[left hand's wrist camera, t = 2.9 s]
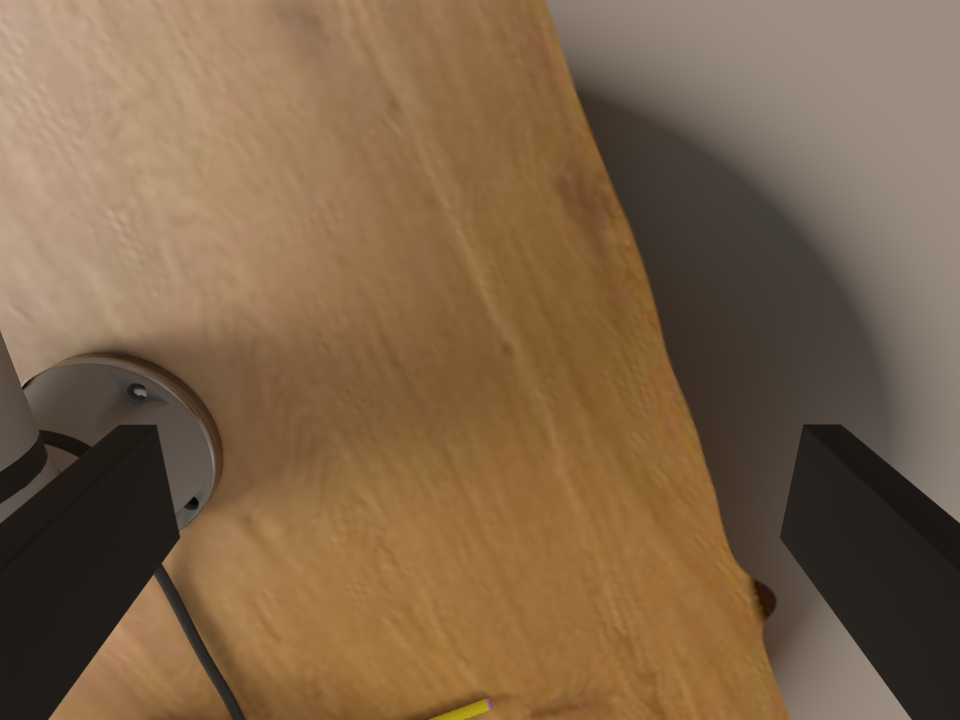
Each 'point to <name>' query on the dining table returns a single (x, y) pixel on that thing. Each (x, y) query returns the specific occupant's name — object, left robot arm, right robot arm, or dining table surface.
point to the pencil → (466, 711)
